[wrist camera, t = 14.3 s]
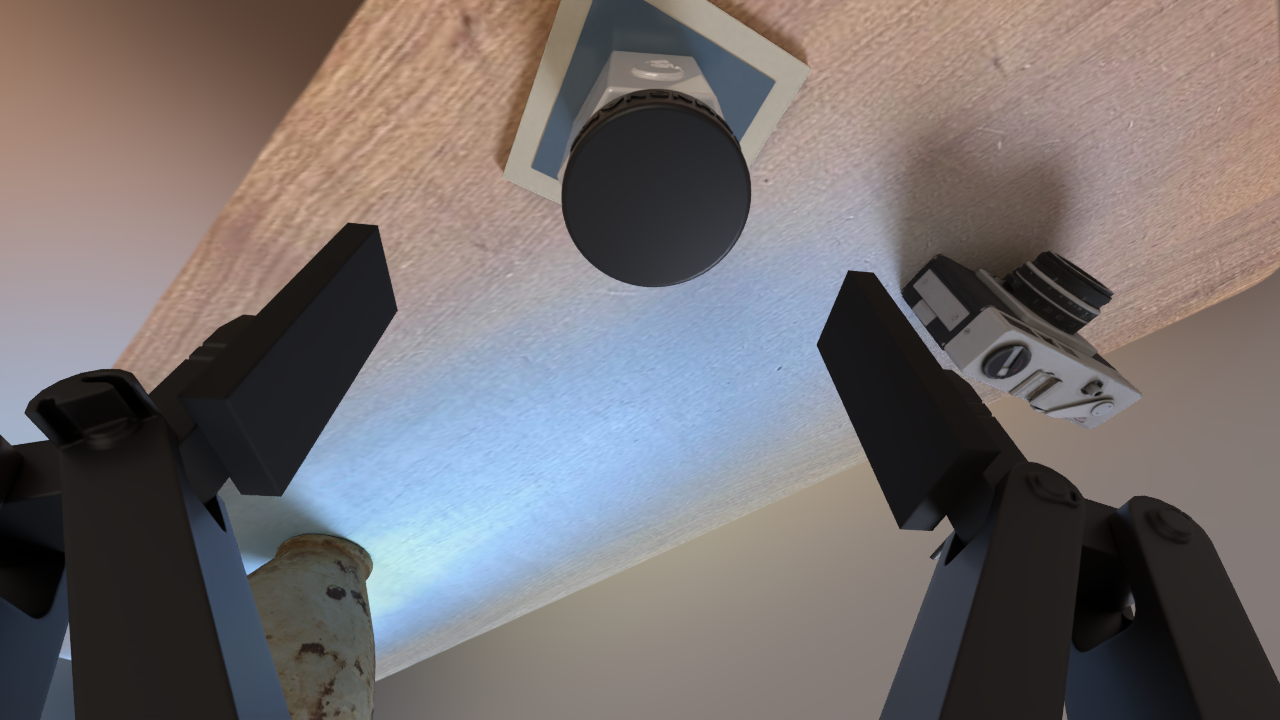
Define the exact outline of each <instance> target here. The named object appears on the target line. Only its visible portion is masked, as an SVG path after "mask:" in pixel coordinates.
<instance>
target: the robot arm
mask: <svg viewBox="0 0 1280 720" xmlns="http://www.w3.org/2000/svg"><path fill="white" fill-rule="evenodd" d="M397 311H398V310H397V306H396V301H395V297H394V293H393V289H392V284H391V280H390V276H389V271H388V267H387V263H386V259H385V254H384V250H383V246H382V242H381V237H380V233H379V229H378V225H367V224H357V223H347V224H346V225H345V226H344V227H343V228H342V229H341V230H340V231H339V232H338V233H337V234H336V235H335V236H334V237H333V238H332V239H331V240H330V241H329V242H328V243H327V244H326V245H325V246H324V247H323V248H322V249H321V250H320V251H319V252H318V253H317V254H316V255H315V257H314V258H313V259H312V260H311V261H310V262H309V263H308V264H307V265H306V266H305V267H304V268H303V269H302V270H301V271H300V272H299V273H298V274H297V275H296V276H295V277H294V278H293V279H292V280H291V281H290V282H289V283H288V284H287V285H286V286H285V287H284V288H283V289H282V290H281V291H280V292H279V293H278V294H277V295H276V296H275V297H274V298H273V299H272V300H271V301H270V302H269V303H268V304H267V305H266V306H265V307H264V308H263V309H262V310H261V311H260V312H259V313H258V314H257V315H256V316H254V315H242V316H240V317H238V318H236V319H234V320H232V321H230V322H229V323H227V324H225V325H223V326H221V327H219V328H218V329H217V330H216V331H215V332H214V333H213V334H212V335H211V336H210V337H209V338H208V339H207V340H205V341H204V342H203V346H199V347H198V348H197V349H196V350H195V351H194V352H193V353H192V354H191V355H190V356H189V360H187V359H185V360H184V361H183V362H182V363H181V364H180V365H179V366H178V367H177V368H176V369H175V370H174V371H173V372H172V373H171V374H170V375H169V376H168V377H166V378H165V379H164V380H163V381H162V382H161V383H160V384H159V385H158V386H157V387H156V388H155V389H154V390H153V391H152V392H151V393H150V394H149V395H148V394H147V393H146V391H145V390H144V388H143V387H142V385H141V384H140V383H139V381H138V380H137V379H136V377H135V376H134V375H133V373H130V372H127V371H124V370H121V369H100V370H95V371H89V372H84V373H80V374H77V375H74V376H71V377H69V378H66V379H63V380H60V381H58V382H57V383H55V384H53V385H51V386H49V387H48V388H46V389H44V390H42V391H41V392H40V393H39V394H38V395H37V396H35V397H34V398H33V399H32V400H31V401H30V402H29V404H28V406H27V408H26V411H25V414H26V416H27V417H28V418H29V419H30V420H31V421H32V422H33V423H34V424H35V425H36V426H37V427H38V428H39V429H40V430H41V431H42V432H43V433H44V434H45V435H46V437H48V439H49V440H46V441H39V442H32V443H26V444H19V445H13V446H11V445H10V444H9V443H8V442H7V441H6V440H5V439H4V438H3V437H2V436H1V435H0V720H40V718H41V714H42V711H43V708H44V704H45V701H46V698H47V694H48V691H49V687H50V684H51V681H52V677H53V674H54V670H55V667H56V664H57V660H58V657H59V653H60V650H61V647H62V643H63V640H64V636H65V633H66V630H67V626H68V623H69V627H70V643H71V659H72V675H73V691H74V706H75V720H291V717H290V713H289V710H288V707H287V704H286V700H285V697H284V694H283V691H282V688H281V684H280V681H279V678H278V675H277V672H276V668H275V665H274V662H273V659H272V655H271V652H270V649H269V646H268V643H267V639H266V636H265V633H264V630H263V627H262V623H261V620H260V617H259V614H258V610H257V607H256V604H255V601H254V598H253V594H252V591H251V588H250V585H249V581H248V578H247V575H246V572H245V569H244V565H243V562H242V559H241V556H240V553H239V549H238V546H237V543H236V540H235V536H234V533H233V530H232V527H231V524H230V520H229V517H228V514H227V511H226V508H225V504H224V502H223V500H222V499H221V498H220V496H219V495H218V493H217V492H218V491H219V490H220V488H221V487H222V486H223V484H224V483H225V482H226V480H227V479H228V478H229V477H230V478H231V480H232V481H233V483H234V484H235V486H236V487H237V489H238V490H239V492H240V493H241V494H242V495H261V496H280V497H281V496H282V495H283V493H284V491H285V490H286V488H287V487H288V485H289V483H290V482H291V480H292V479H293V477H294V475H295V474H296V472H297V471H298V469H299V467H300V466H301V464H302V463H303V461H304V459H305V458H306V456H307V455H308V453H309V451H310V450H311V448H312V447H313V445H314V443H315V442H316V440H317V439H318V437H319V435H320V434H321V432H322V431H323V429H324V427H325V426H326V424H327V423H328V421H329V419H330V418H331V416H332V415H333V413H334V411H335V410H336V408H337V407H338V405H339V403H340V402H341V400H342V399H343V397H344V395H345V394H346V392H347V391H348V389H349V387H350V386H351V384H352V383H353V381H354V379H355V378H356V376H357V375H358V373H359V371H360V370H361V368H362V367H363V365H364V363H365V362H366V360H367V359H368V357H369V355H370V354H371V352H372V351H373V349H374V347H375V346H376V344H377V343H378V341H379V339H380V338H381V336H382V335H383V333H384V331H385V330H386V328H387V327H388V325H389V323H390V322H391V320H392V319H393V317H394V315H395V314H396V312H397ZM817 347H818V349H819V351H820V354H821V356H822V358H823V360H824V363H825V365H826V367H827V369H828V371H829V374H830V376H831V378H832V380H833V382H834V385H835V387H836V389H837V391H838V394H839V396H840V398H841V400H842V402H843V405H844V407H845V409H846V411H847V413H848V416H849V418H850V420H851V422H852V425H853V427H854V429H855V431H856V433H857V436H858V438H859V440H860V442H861V444H862V447H863V449H864V451H865V453H866V456H867V458H868V460H869V462H870V464H871V467H872V469H873V471H874V473H875V475H876V477H877V480H878V482H879V484H880V487H881V489H882V491H883V493H884V495H885V498H886V500H887V502H888V504H889V506H890V509H891V511H892V513H893V515H894V518H895V520H896V522H897V524H898V526H899V529H906V530H924V531H933V530H934V528H935V527H936V526H937V525H938V524H939V523H940V521H941V520H942V519H943V518H944V517H945V516H946V515H947V517H948V519H949V521H950V522H951V524H952V526H953V528H954V531H953V532H952V533H951V534H950V535H949V536H948V537H947V538H946V540H945V541H944V542H943V543H942V544H941V545H940V546H939V547H938V548H937V549H936V550H935V552H934V553H933V554H932V555H931V556H930V558H931V559H933V560H936V558H937V557H938V556H939V555H940V557H939V560H938V563H937V565H936V568H935V571H934V574H933V576H932V579H931V582H930V584H929V587H928V590H927V593H926V595H925V598H924V601H923V603H922V606H921V608H920V611H919V614H918V616H917V619H916V622H915V624H914V627H913V630H912V633H911V635H910V638H909V641H908V643H907V646H906V649H905V651H904V654H903V657H902V659H901V662H900V665H899V667H898V671H897V673H896V675H895V678H894V681H893V684H892V686H891V689H890V692H889V694H888V697H887V700H886V703H885V705H884V708H883V710H882V713H881V716H880V718H879V720H1062V716H1063V707H1064V701H1065V707H1066V713H1067V719H1068V720H1280V683H1279V681H1278V679H1277V677H1276V675H1275V673H1274V671H1273V669H1272V667H1271V664H1270V662H1269V660H1268V658H1267V656H1266V654H1265V652H1264V650H1263V648H1262V646H1261V644H1260V641H1259V639H1258V637H1257V635H1256V633H1255V631H1254V629H1253V627H1252V625H1251V623H1250V621H1249V619H1248V617H1247V614H1246V612H1245V610H1244V608H1243V606H1242V604H1241V602H1240V600H1239V598H1238V596H1237V593H1236V591H1235V589H1234V588H1233V585H1232V583H1231V581H1230V579H1229V577H1228V575H1227V573H1226V570H1225V568H1224V566H1223V564H1222V562H1221V560H1220V558H1219V556H1218V554H1217V552H1216V549H1215V547H1214V545H1213V543H1212V541H1211V540H1210V538H1209V537H1208V535H1207V534H1206V532H1205V531H1204V530H1203V529H1202V528H1201V527H1200V526H1199V525H1198V524H1197V523H1196V522H1195V521H1194V520H1192V518H1191V517H1190V516H1188V515H1187V514H1186V513H1184V512H1182V511H1181V510H1180V509H1178V508H1176V507H1174V506H1172V505H1170V504H1168V503H1165V502H1163V501H1161V500H1159V499H1155V498H1152V497H1148V496H1134V497H1133V498H1131V499H1130V500H1129V501H1128V502H1126V503H1125V504H1124V505H1123V506H1121V507H1120V508H1119V509H1117V508H1114V507H1111V506H1107V505H1104V504H1101V503H1098V502H1095V501H1092V500H1088V499H1085V498H1084V497H1083V496H1082V494H1081V493H1080V492H1079V490H1078V489H1077V487H1076V486H1075V485H1073V484H1072V483H1071V482H1070V481H1069V480H1068V479H1067V478H1066V477H1064V476H1063V475H1061V474H1060V473H1058V472H1056V471H1054V470H1053V469H1051V468H1049V467H1046V466H1044V465H1041V464H1039V463H1034V462H1028V461H1027V459H1026V458H1025V457H1024V455H1023V454H1022V453H1021V451H1020V450H1019V449H1018V447H1017V446H1016V445H1015V443H1014V442H1013V441H1012V439H1011V438H1010V437H1009V435H1008V434H1007V433H1006V432H1005V430H1004V429H1003V427H1002V426H1001V425H1000V423H999V422H998V421H997V419H996V418H995V417H992V413H991V412H990V410H989V409H988V408H987V406H986V405H985V404H983V403H982V400H981V398H980V397H979V396H978V394H977V393H976V392H975V390H974V389H973V388H972V386H971V385H970V384H969V383H968V382H966V381H965V380H964V379H963V378H961V377H960V376H959V375H958V374H956V373H955V372H954V371H953V370H946V369H942V367H941V366H940V364H939V363H938V362H937V360H936V359H935V357H934V356H933V355H932V353H931V352H930V350H929V349H928V348H927V346H926V345H925V343H924V342H923V341H922V339H921V338H920V337H919V335H918V334H917V332H916V331H915V330H914V328H913V327H912V325H911V324H910V323H909V321H908V320H907V318H906V317H905V316H904V314H903V313H902V311H901V310H900V309H899V307H898V306H897V304H896V303H895V302H894V300H893V299H892V298H891V296H890V295H889V293H888V292H887V291H886V289H885V288H884V286H883V285H882V284H881V282H880V281H879V279H878V278H877V277H876V275H875V274H874V273H871V272H861V271H850V270H848V272H847V275H846V277H845V279H844V282H843V284H842V286H841V289H840V291H839V293H838V296H837V298H836V301H835V303H834V305H833V308H832V310H831V312H830V315H829V317H828V319H827V322H826V324H825V326H824V329H823V331H822V333H821V336H820V338H819V340H818V343H817ZM1134 603H1135V609H1136V610H1135V616H1133V612H1132V609H1131V606H1130V605H1132V604H1134Z"/></svg>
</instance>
